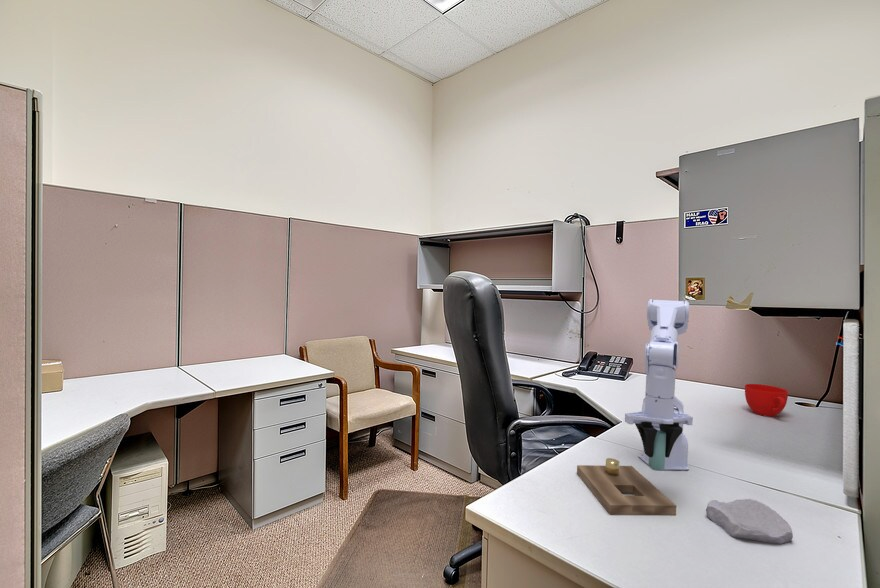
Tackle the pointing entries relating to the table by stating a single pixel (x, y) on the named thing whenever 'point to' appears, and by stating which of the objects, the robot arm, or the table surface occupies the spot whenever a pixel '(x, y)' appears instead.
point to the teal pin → (658, 452)
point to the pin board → (624, 490)
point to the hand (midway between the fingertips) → (656, 455)
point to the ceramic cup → (766, 399)
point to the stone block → (750, 520)
